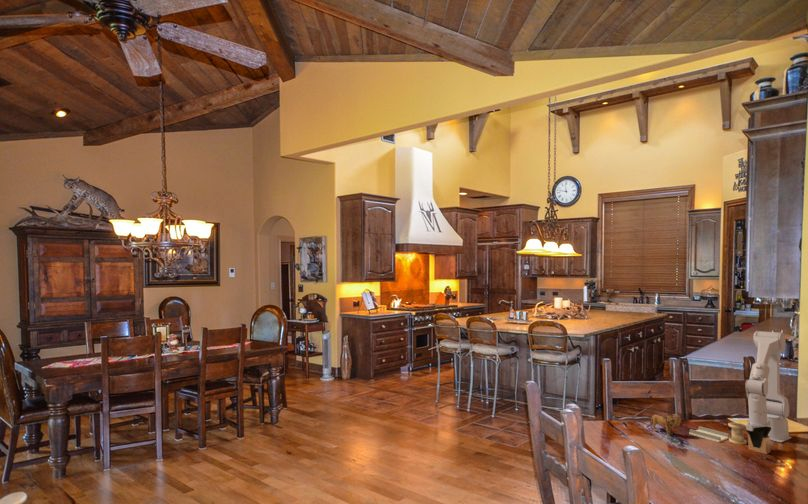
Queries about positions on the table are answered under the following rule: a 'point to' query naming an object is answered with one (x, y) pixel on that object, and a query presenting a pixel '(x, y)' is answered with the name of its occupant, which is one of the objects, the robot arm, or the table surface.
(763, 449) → the tan block
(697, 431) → the notched board
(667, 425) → the lion figurine
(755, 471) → the table surface
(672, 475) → the table surface
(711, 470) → the table surface
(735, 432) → the bobbin
